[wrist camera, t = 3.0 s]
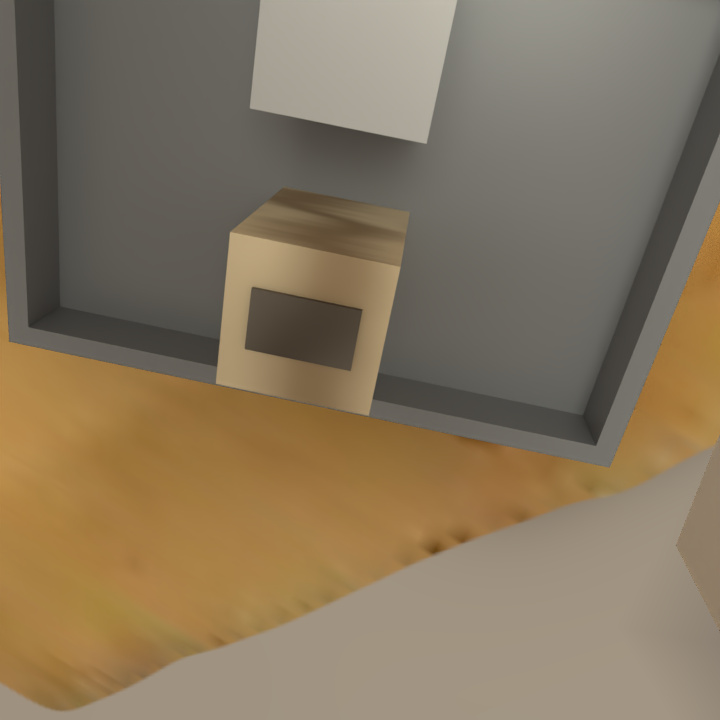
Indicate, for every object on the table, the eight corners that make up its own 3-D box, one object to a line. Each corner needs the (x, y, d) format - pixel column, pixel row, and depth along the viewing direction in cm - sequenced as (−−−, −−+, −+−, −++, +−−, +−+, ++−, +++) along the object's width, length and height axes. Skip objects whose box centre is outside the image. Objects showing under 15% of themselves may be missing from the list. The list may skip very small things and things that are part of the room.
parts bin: (48, 315, 36) (9, 341, 32) (34, -189, 26) (-23, -224, 23) (593, 429, 35) (609, 467, 32) (777, -45, 26) (827, -60, 22)
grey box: (295, 96, 29) (249, 108, 22) (315, -61, 27) (270, -107, 19) (428, 123, 29) (426, 143, 22) (461, -33, 26) (471, -68, 19)
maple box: (269, 304, 33) (214, 385, 25) (284, 186, 31) (228, 233, 22) (384, 328, 33) (368, 418, 25) (409, 212, 31) (400, 268, 22)
